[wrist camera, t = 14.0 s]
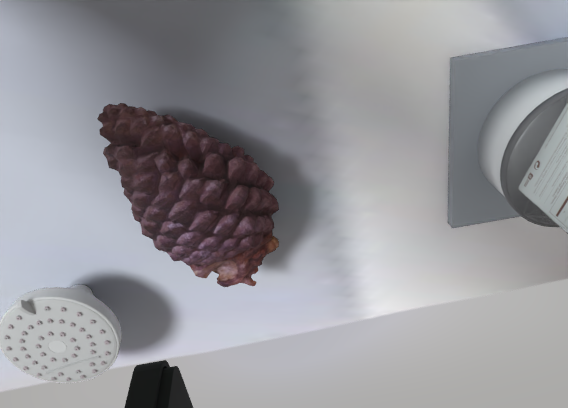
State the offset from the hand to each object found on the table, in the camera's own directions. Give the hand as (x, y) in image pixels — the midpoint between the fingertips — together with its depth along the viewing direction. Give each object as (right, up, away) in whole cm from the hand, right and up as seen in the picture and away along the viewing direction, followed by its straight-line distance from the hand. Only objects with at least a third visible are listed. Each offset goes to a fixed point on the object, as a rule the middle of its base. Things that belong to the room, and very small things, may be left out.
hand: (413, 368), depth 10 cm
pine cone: (-9, +6, +31) cm, 33 cm away
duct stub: (+19, +9, +31) cm, 38 cm away
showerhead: (-21, -5, +35) cm, 42 cm away
